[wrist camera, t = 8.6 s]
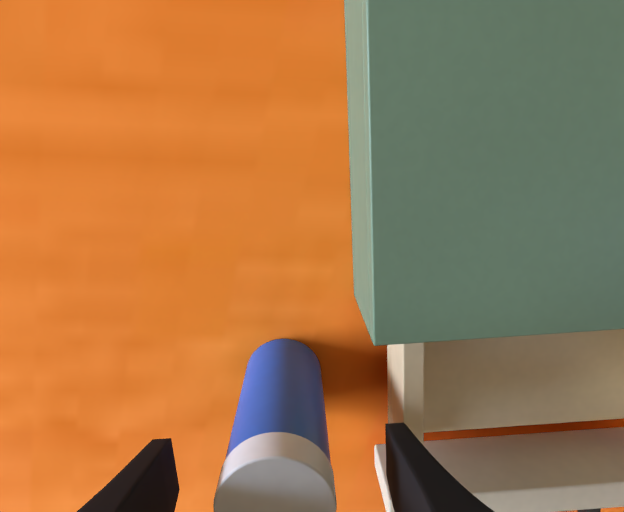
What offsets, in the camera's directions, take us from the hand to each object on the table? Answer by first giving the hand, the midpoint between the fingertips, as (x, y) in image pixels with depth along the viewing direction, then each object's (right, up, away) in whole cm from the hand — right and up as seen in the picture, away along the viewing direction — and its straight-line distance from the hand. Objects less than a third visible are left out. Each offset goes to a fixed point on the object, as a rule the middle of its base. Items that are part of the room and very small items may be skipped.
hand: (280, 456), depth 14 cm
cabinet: (+9, +12, +3) cm, 16 cm away
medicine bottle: (0, +1, +5) cm, 5 cm away
